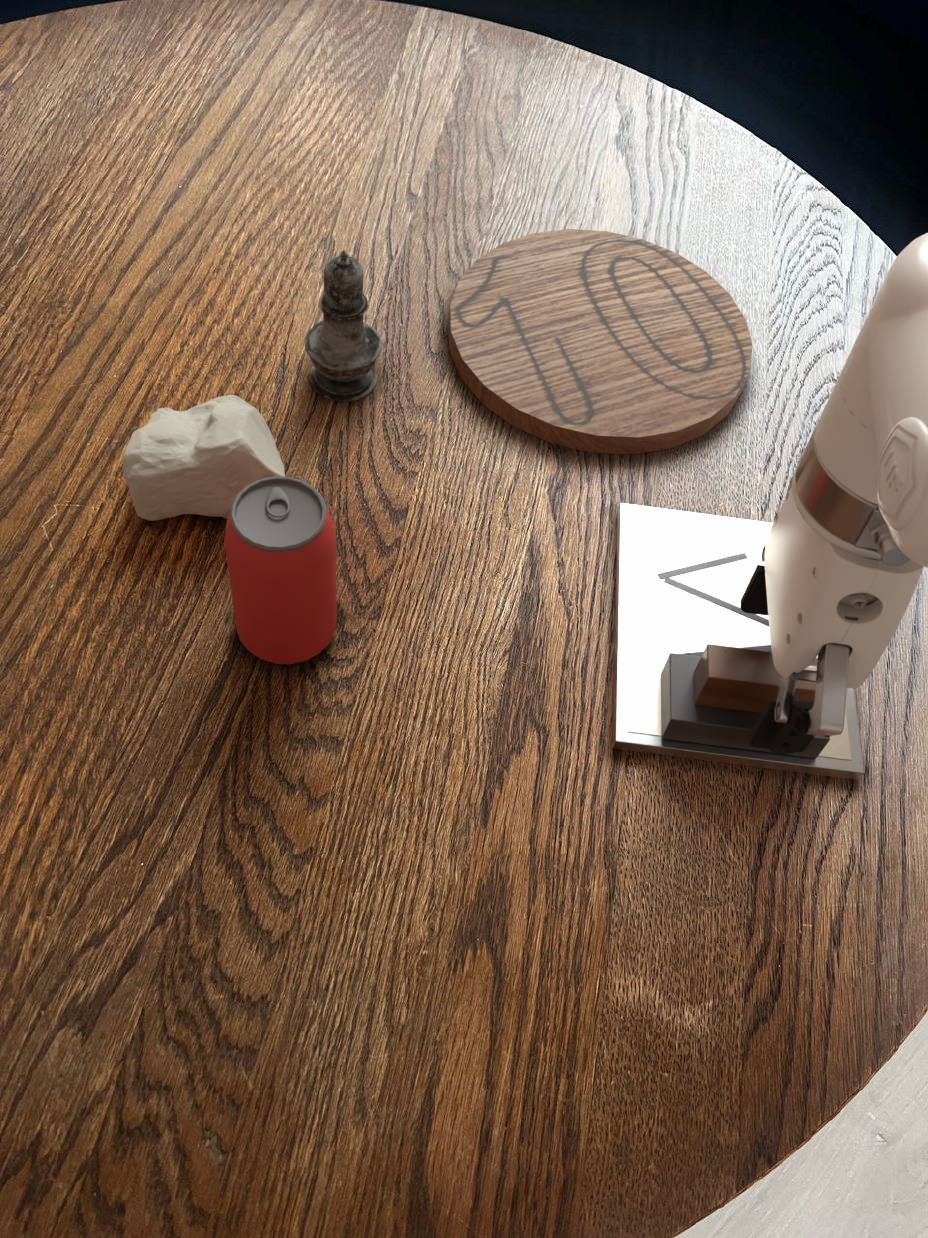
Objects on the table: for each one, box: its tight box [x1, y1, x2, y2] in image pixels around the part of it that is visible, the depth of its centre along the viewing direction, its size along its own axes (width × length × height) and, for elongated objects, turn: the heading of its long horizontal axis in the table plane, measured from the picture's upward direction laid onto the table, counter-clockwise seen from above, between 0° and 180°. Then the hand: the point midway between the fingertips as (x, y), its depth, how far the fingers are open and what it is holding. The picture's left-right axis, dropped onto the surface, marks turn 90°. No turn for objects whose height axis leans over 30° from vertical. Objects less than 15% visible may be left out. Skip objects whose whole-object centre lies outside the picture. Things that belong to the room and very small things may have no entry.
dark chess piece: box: [304, 250, 383, 403], centre depth 84 cm, size 6×6×12 cm
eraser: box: [661, 644, 830, 758], centre depth 71 cm, size 10×5×6 cm, turn 84°
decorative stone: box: [122, 394, 286, 522], centre depth 79 cm, size 11×9×10 cm
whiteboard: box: [611, 502, 865, 781], centre depth 78 cm, size 20×16×1 cm
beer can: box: [223, 476, 337, 665], centre depth 70 cm, size 7×7×12 cm
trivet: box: [447, 228, 753, 455], centre depth 93 cm, size 25×25×2 cm
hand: (769, 675), depth 68 cm, fingers open, 9 cm apart
